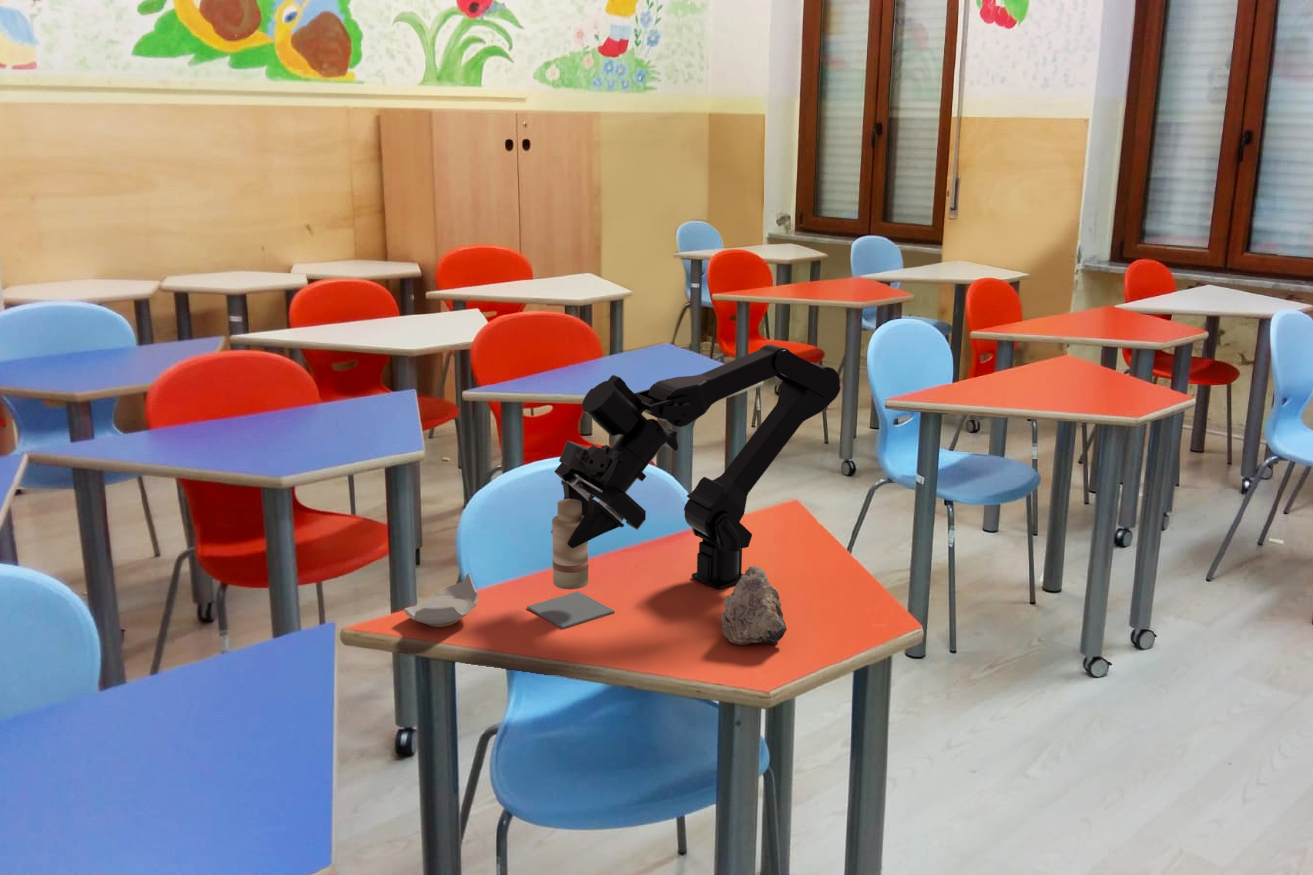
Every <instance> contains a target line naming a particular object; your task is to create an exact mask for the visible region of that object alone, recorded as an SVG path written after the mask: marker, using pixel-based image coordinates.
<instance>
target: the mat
mask: <svg viewBox="0 0 1313 875" xmlns="http://www.w3.org/2000/svg"><path fill="white" fill-rule="evenodd" d="M526 608H527V609H528V610H529V611H531V612H533V613H535V614H536V615H538V616H540V617H542V618H543V619H545V620H547V621H548V622H550V623H552V624H554V625H555V626H557V627H558V628H560V629H561V630H563V629H566V628H570V627H573V626H575V625H579V624H582V623H585V622H588V621H592V620H595V619H598V618H601V617H605V616H607V615H610V614H614V613H615V610H614V609H612V608H611V607H609V606H606V605H605V604H602V603H601V602H599V601H597V600H595V599H593V598H592V597H590V596H589V595H586V594H584V593H582V592H580V591H574V592H571V593H568V594H564V595H561V596H558V597H555V598H550V599H546V600H544V601H543V600H542V601H540V602H538V603H537V602H536V603H533V604H530V605H527V606H526Z"/></svg>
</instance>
